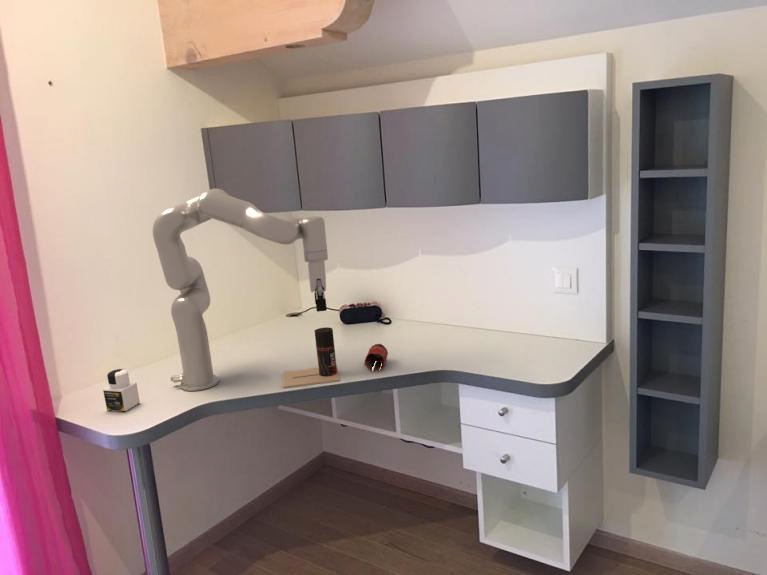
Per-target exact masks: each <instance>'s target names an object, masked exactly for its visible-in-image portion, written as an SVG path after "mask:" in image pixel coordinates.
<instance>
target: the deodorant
mask: <svg viewBox="0 0 767 575" xmlns="http://www.w3.org/2000/svg"><path fill="white" fill-rule="evenodd" d="M333 330H334V329H333V328H332V327H329V326H328V327H318V328H317V329H314V337H315V338H314V339H315V348H316V356H317V357H316V358H317V364H318V365H317V366H318V367H317V368H319V375H321V376H332V375H335V374H336V373H337V371H338V366H337V359H336V358H337V357H336V349H335V340H334V339H335V338H334V331H333Z"/></svg>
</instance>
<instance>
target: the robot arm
mask: <svg viewBox="0 0 767 575" xmlns="http://www.w3.org/2000/svg"><path fill="white" fill-rule="evenodd" d="M210 220H216V221H219V222H222V223H225V224H228V225H232V226H233V227H237V228H241V229H242V230H244V231H246V232H248V233H251V234H253V235H255V236H257V237H259V238H262V239H264V240H267V241H271V242H273V243H276V244H279V245H280V244H281V245H285V246H288V245H291V244H293V243H295V241H298V240H302V247H303V258H304V259H303V260H304V262H305V263H307V268H308V278H309V289H310V293H314V304H315V309H316V311H317V312H326V311H327V310H328V309H327V300H326V299H327V298H326V295H325V291H327V275H326V264H325V262H326V261H328V259H329V256H328V244H327V235H326V234H327V233H326V225H325V224H326V223H325V219H324V218H323V216H314V215H313V216H307V217H295V216H294V217H293V216H292V217H291V216H290V217H286V218H284V219H281V218H279V217H276V216H274V215H273V216H272V215H270V214H267V213H265V212H263V211H262V210H259V209H258V207H256V205H254V203H252V202H249V201H246V200H243V199H239V198H238V197H234V196H232V195H229V194H228V193H227V192H226V191H224V190H223V189H220V188H212V189H208V190H205V191H203V192H202V193H200V195H199V196H196V197H194V198H192V199H190V200H187V201H185V202H183V203H180V204H176V205H172V206H170V207H168V208H166V209H164V210H163V211H162V212H161V213H159V215H158V216H157V217H156V219H155V220H154V222H153V226H152V237H153V241H154V244H155V248H156V251H157V254H158V258H159V262H160V266H161V268H162V272H163V275H164V279H165V282H166V284H167V286H168V287H169V288H171V289H172V290H174V291H179V292H180V294H179V295H178V296H177V297H175V299H174V300H173V301H172V304H171V307H170V312H171V314H170V315H171V317H172V321H173V323H174V326H175V331H176V337H177V343H178V348H179V355H180V360H181V361H180V362H181V367H182V373H180V374H175V375H170V381H171V382H173V384H174V383H175V384H176V383H179V382H180V384H179V385H180V389H181V390H184V391H186V392H187V391H188V392H196V391H202V390H207V389H210V388H212V387H214V386H216V385H217V384H218V383H219V382H220V377H219V376H218V375H216V374H214V369H213V363H212V361H213V360H212V356H211V349H210V343H209V337H208V330H207V326H206V323H205V320H204V316H203V314H205V312H206V311H207V310H208V309H209V307H210V305H211V295H210V291H209V287H208V285H207V281H206V278H205V274H204V271H203V267H202V266H201V264H200V263H199V261H198V260H197V259H195V258H194V257H192V256H188V253H187V250H186V246H185V244H184V242H183V240H182V238H181V234H182V233H183V232H186V231H187V230H190V229H193V228H195V227H197V226H199V225H201V224H203V223H206V222H208V221H210Z"/></svg>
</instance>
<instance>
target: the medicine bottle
mask: <svg viewBox="0 0 767 575" xmlns="http://www.w3.org/2000/svg"><path fill="white" fill-rule="evenodd" d="M106 377H107V382H108V386H107V387H105V388H103V390H102V391H103V396H104V401H105V406H106V407H105V408H106V411H108V410H112V411H111V412H118V411H126V410H127V411H129V410H131V409H132V408H131V407H133V406H134V407H136V406H137V404H138V403H139V404H140V403H141V402H140V401H141V400H140V394H139V389H138V384H137V382H134V381H133V382H132V381H130V376H129V371H128V369H125V368H118V369H114V370H110V371H109V372H108V373H107V375H106ZM139 404H138V405H139ZM135 405H136V406H135ZM134 407H133V408H134ZM130 408H131V409H130ZM128 409H129V410H128ZM127 411H126V412H127Z"/></svg>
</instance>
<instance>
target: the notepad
mask: <svg viewBox="0 0 767 575" xmlns="http://www.w3.org/2000/svg"><path fill="white" fill-rule="evenodd" d="M335 382H340V377H339V371H338V370H337V373H336V374H335V375H332V376H321V375H319V367H313V368H306V369H304V368H303V369H298V370H290V371H283V383H282V384H283V389H289V388H297V387H304V386H312V385H319V384H327V383H335Z"/></svg>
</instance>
